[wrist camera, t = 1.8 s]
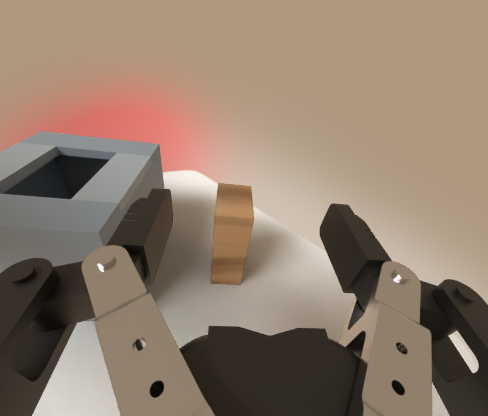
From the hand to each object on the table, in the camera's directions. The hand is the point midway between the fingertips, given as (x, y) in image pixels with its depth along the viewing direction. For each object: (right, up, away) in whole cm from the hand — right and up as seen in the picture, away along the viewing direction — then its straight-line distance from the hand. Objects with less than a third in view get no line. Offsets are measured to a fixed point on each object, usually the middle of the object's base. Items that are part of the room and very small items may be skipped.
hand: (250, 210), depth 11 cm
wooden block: (-3, -8, +21) cm, 22 cm away
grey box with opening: (-20, -7, +19) cm, 28 cm away
